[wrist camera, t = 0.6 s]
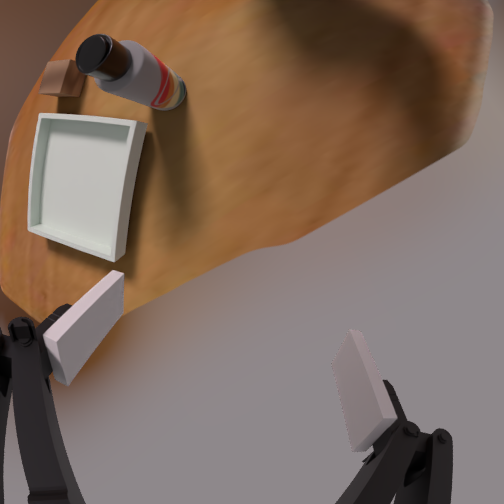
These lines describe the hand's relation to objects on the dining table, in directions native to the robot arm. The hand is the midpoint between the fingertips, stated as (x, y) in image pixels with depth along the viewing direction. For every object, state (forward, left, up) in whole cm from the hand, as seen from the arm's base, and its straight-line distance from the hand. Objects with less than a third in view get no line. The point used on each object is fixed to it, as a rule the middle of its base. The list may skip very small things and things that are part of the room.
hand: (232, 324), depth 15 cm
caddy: (0, -28, -26) cm, 38 cm away
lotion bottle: (-15, -17, -26) cm, 34 cm away
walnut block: (-16, -36, -26) cm, 47 cm away
